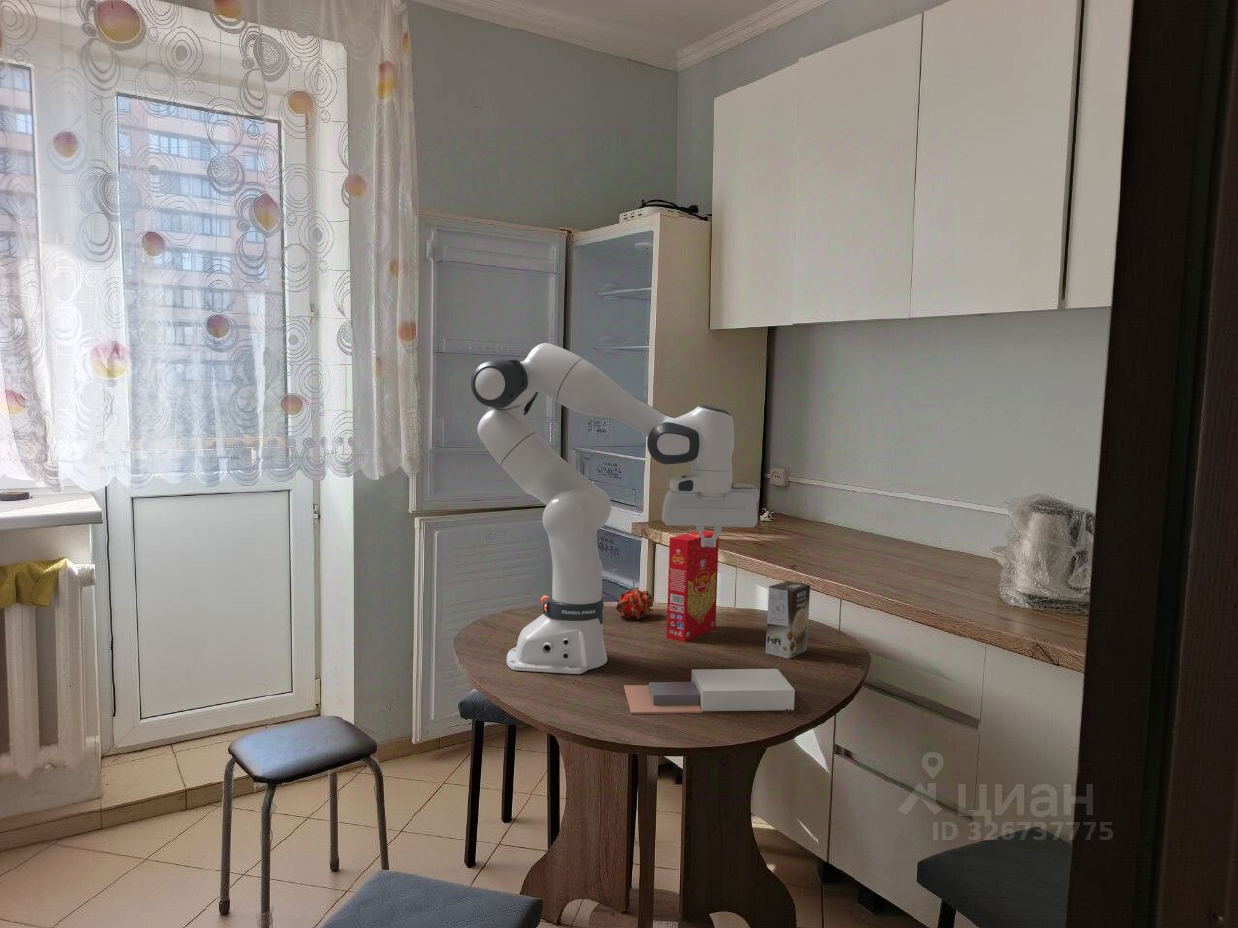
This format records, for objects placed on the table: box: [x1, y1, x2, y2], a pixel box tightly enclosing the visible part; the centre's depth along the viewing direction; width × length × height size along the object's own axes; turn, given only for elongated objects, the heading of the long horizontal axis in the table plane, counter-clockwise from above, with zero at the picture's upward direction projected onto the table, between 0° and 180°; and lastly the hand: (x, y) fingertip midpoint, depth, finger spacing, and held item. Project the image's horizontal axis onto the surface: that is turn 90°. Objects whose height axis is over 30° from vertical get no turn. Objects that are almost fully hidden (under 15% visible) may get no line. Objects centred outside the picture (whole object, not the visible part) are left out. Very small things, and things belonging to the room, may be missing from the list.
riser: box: [690, 668, 796, 712], centre depth 167 cm, size 18×12×4 cm, turn 95°
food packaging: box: [666, 530, 720, 643], centre depth 209 cm, size 15×5×25 cm, turn 143°
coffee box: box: [765, 580, 811, 660], centre depth 196 cm, size 9×6×16 cm
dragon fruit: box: [615, 587, 654, 620], centre depth 223 cm, size 8×8×12 cm
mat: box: [623, 684, 703, 715], centre depth 165 cm, size 14×14×1 cm
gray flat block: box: [648, 681, 700, 705], centre depth 165 cm, size 9×7×2 cm
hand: (708, 546), depth 178 cm, fingers closed
